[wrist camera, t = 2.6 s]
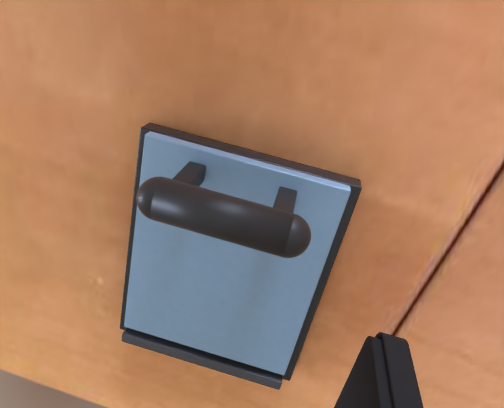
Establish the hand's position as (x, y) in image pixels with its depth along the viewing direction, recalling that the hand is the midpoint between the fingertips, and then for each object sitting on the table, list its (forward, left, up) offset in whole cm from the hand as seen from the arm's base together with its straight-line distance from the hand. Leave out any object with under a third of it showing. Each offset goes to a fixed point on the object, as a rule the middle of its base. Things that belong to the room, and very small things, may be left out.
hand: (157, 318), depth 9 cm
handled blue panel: (0, +5, -10) cm, 11 cm away
